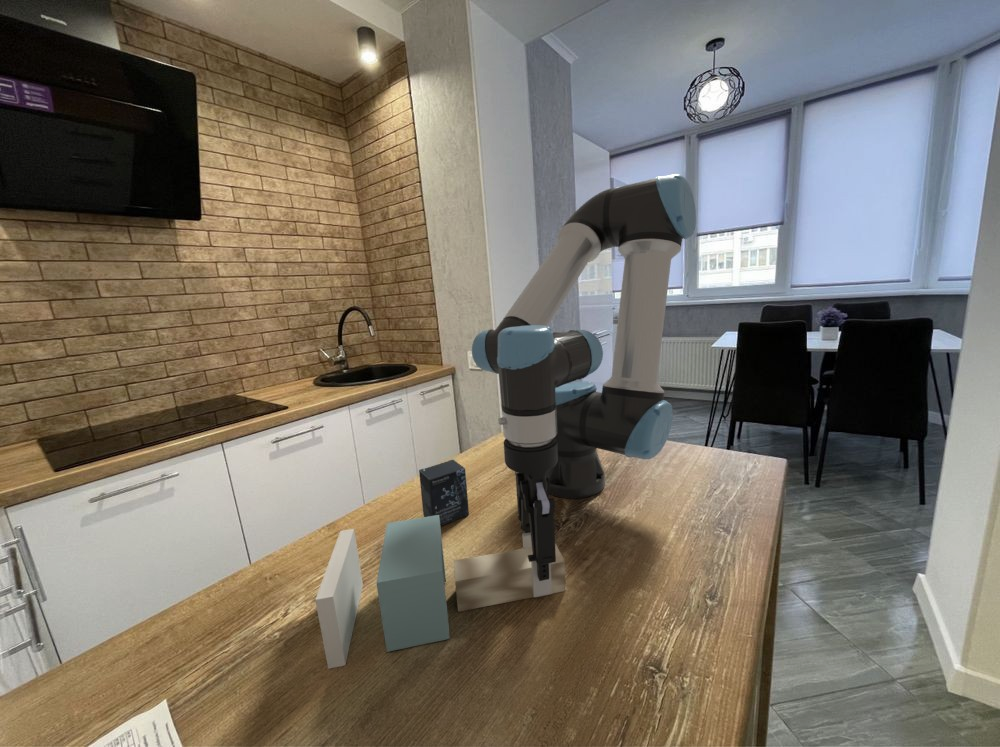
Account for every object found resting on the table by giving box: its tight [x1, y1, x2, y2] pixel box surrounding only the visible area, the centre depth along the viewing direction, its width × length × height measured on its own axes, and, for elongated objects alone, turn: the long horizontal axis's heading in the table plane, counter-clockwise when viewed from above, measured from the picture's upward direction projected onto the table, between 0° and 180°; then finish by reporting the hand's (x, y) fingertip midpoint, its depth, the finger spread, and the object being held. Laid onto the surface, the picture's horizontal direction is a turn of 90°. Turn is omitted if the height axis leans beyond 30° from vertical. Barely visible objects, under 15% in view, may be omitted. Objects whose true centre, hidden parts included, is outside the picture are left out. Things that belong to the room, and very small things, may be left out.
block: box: [376, 515, 451, 653], centre depth 56 cm, size 8×13×10 cm, turn 10°
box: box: [418, 459, 470, 527], centre depth 79 cm, size 8×6×11 cm
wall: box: [314, 528, 364, 670], centre depth 54 cm, size 2×14×10 cm, turn 10°
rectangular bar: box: [452, 543, 566, 612], centre depth 58 cm, size 16×4×5 cm, turn 100°
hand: (537, 581), depth 60 cm, fingers closed on rectangular bar, 4 cm apart
